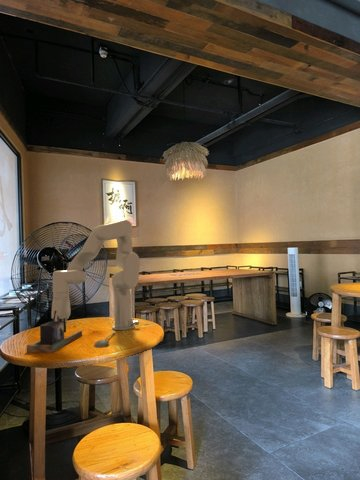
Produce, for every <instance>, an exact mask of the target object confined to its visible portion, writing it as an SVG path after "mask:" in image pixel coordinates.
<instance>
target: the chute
mask: <svg viewBox="0 0 360 480" xmlns="http://www.w3.org/2000/svg"><path fill="white" fill-rule="evenodd" d="M81 337H83V330H79V331H77V332H75V333H73V334H71V335H69V336H67V337H64V339H63V340H61V341H59V342H57V343H55V344H53V345H40V340H38V341H36V342H33V343H32V344H26V353H37V352H39V353H40V354H41V353H42V354H43V353H45V354H47V353H48V354H51V353H53V352H55V351H57V350H59V349H61V348H63V347H64V346H66V345H67V344H70V343H71V342H74V341H75V340H77V339H78V338H81Z"/></svg>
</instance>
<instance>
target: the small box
mask: <svg viewBox="0 0 360 480" xmlns="http://www.w3.org/2000/svg"><path fill="white" fill-rule="evenodd" d="M39 326H40V327H39V331H40V333H39V338H40V339H39V341H40V345H53V344H55V343H57V342H59V341H61V340H63V339H65V333H64V321H55V320H51V321H48V322H45V323H43V324H39Z"/></svg>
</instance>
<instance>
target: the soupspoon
mask: <svg viewBox="0 0 360 480" xmlns="http://www.w3.org/2000/svg"><path fill="white" fill-rule="evenodd" d="M115 335H117V334H116V332H112V333H111V334H110V335H108V336H107V337H106V338H105V339H99V340H97V341H96V342H95V343H94V348H96V349H97V348H99V349H102V348H106V347H107V346H109V343H110V341H109V340H108V339H109V338H110V337H112V336H115Z"/></svg>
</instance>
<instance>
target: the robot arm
mask: <svg viewBox="0 0 360 480" xmlns="http://www.w3.org/2000/svg"><path fill="white" fill-rule="evenodd" d="M132 230H133V224H132V223H131V221H130V220H128V219H120V220H119V219H118V220H114V221H112V222H110V223H107V224H101V225H97V226H94V228H93V229H92V230H91V232H90V234H89V236H88V237H87V239H86V241H85V242H84V245H83V246H82V248H81V249H80V250H79V251H78V253H77V254H76V255H75V256H74V258H72V260H71V262H70V263H69V265H68V267H67V269H66V270H63V269H62V270H55V271H53V273H52V294H53V296H52V297H53V299H52V302H51V320H52V321H64V334H65V333H66V332H67V320H68V319H69V318H70V316H71V300H70V285H79V284H80V285H81V284H83V283H84V282H85V280H86V279H87V274H86V272H85V271H84V270H83V269H84V268H85V267H86V265H88V263H89V262H91V261H92V260H94V259H95V258H96V257H97V256H98V254H99V253H100V250H101V248H102V247H103V245H104V243H105V242H107V241H111V240H116V243H117V245H116V247H117V249H116V258H115V264H116V266H117V267H118V268H120V269H122V270H118V271H116V272H115V273H114V274H113V275H112V277H111V284H112V285H111V286H112V288H113V289H112V290H113V306H114V308H113V309H114V311H113V312H114V324H113V325H112V326H111V328H112V329H111V330H114V331H127V330H132V329H134V328H135V327H136V326H139V325H140V322H139V321H138V320H135V319H134V318H133V317H132V316H133V314H132V294H131V290H134V288H136V286H137V285H138V281H139V277H140V276H139V275H140V266H141V263H140V261H141V259H140V257H139V255H138V254H137V253H136V252H135V251H133V239H132V236H131V234H130V233H131V232H132Z"/></svg>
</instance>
